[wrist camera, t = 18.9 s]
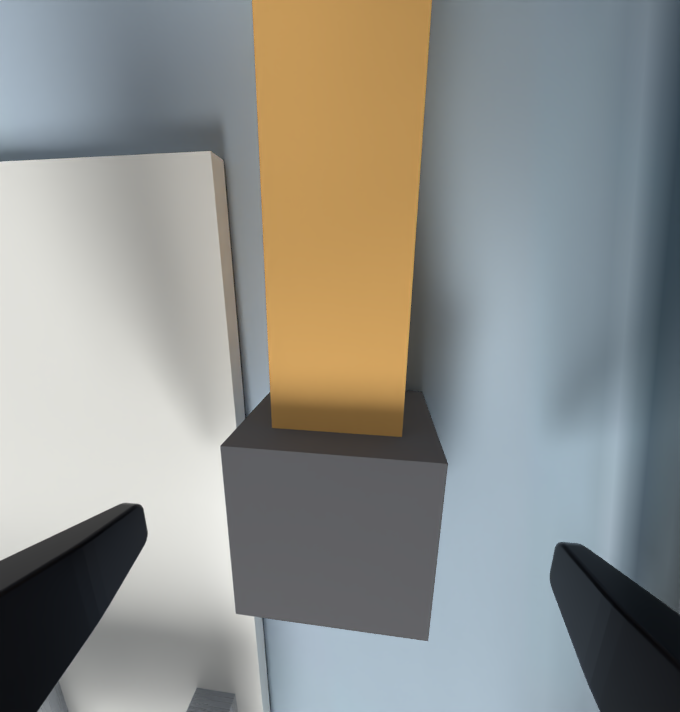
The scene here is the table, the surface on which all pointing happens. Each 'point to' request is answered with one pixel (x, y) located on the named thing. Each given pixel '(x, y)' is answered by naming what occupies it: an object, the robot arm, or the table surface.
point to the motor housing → (205, 708)
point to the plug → (338, 329)
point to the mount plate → (128, 410)
